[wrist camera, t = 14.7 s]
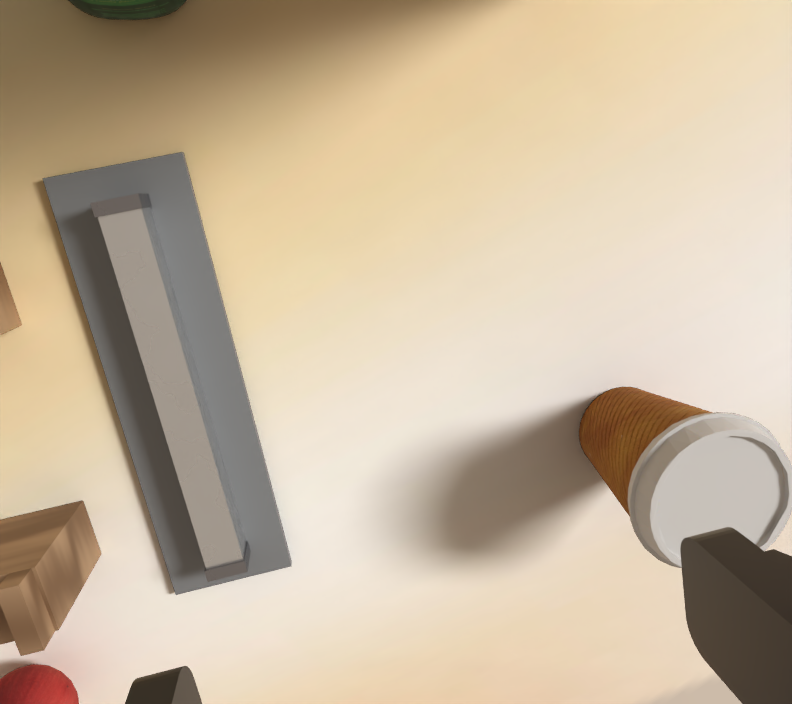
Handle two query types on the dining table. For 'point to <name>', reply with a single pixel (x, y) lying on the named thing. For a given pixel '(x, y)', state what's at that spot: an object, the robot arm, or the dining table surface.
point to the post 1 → (7, 307)
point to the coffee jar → (128, 8)
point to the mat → (208, 345)
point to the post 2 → (43, 572)
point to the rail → (174, 380)
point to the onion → (37, 686)
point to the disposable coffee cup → (687, 469)
